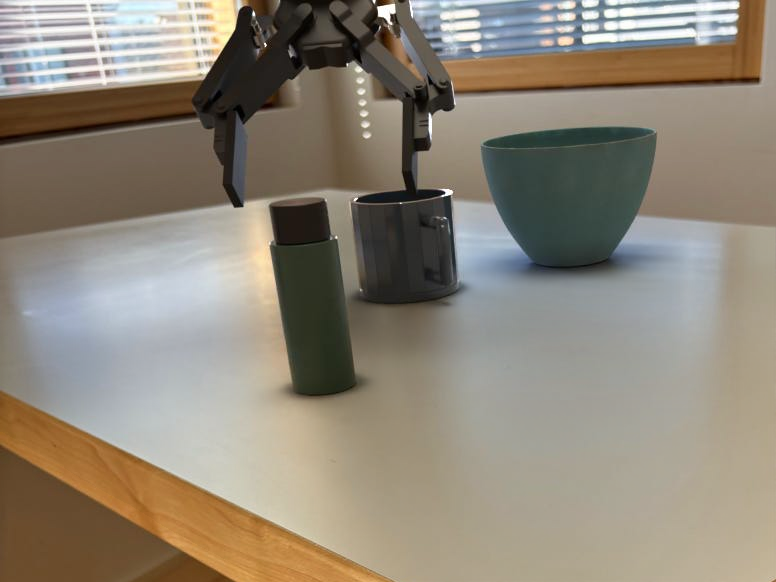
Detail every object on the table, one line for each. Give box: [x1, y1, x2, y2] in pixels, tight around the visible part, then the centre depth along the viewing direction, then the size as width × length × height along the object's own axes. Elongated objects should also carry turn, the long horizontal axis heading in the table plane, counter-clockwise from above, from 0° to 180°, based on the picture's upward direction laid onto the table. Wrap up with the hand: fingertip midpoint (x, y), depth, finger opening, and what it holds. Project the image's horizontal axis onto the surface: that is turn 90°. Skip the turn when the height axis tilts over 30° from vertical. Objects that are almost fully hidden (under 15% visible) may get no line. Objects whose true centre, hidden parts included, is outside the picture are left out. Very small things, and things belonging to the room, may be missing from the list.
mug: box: [348, 187, 460, 304], centre depth 101 cm, size 14×10×9 cm
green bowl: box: [479, 125, 658, 268], centre depth 110 cm, size 18×18×12 cm
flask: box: [268, 196, 357, 396], centre depth 75 cm, size 5×5×13 cm
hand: (320, 190), depth 78 cm, fingers open, 13 cm apart
